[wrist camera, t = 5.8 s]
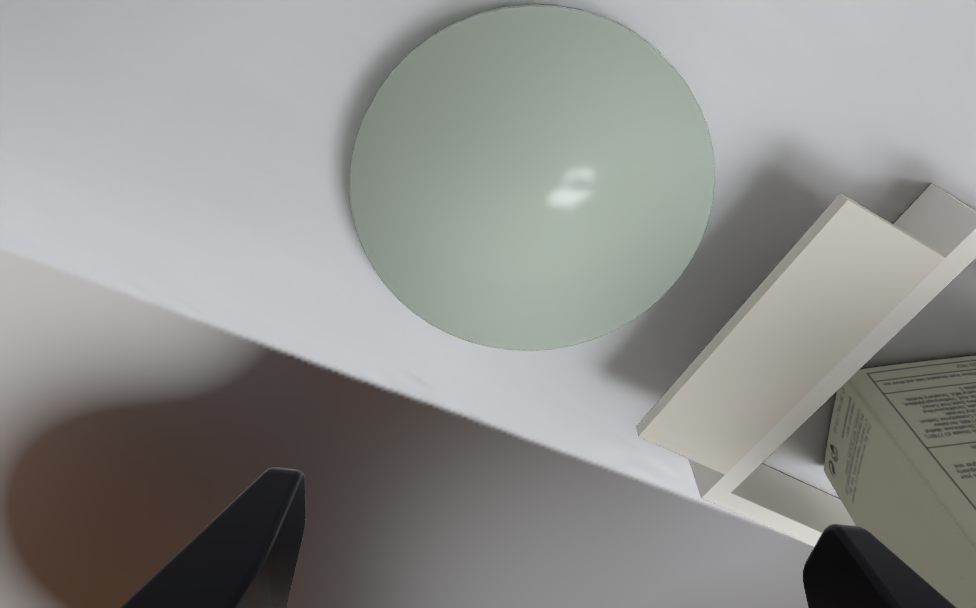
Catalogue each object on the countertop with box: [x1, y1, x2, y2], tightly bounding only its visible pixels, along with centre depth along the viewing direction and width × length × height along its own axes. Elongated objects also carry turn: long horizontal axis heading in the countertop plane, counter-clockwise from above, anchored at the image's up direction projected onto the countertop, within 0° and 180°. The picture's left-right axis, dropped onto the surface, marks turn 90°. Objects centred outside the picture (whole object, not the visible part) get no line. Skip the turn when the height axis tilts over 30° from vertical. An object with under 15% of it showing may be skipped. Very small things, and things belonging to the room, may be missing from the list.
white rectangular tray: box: [636, 184, 976, 547], centre depth 20 cm, size 18×10×2 cm, turn 62°
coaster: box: [349, 4, 715, 351], centre depth 17 cm, size 9×9×1 cm
